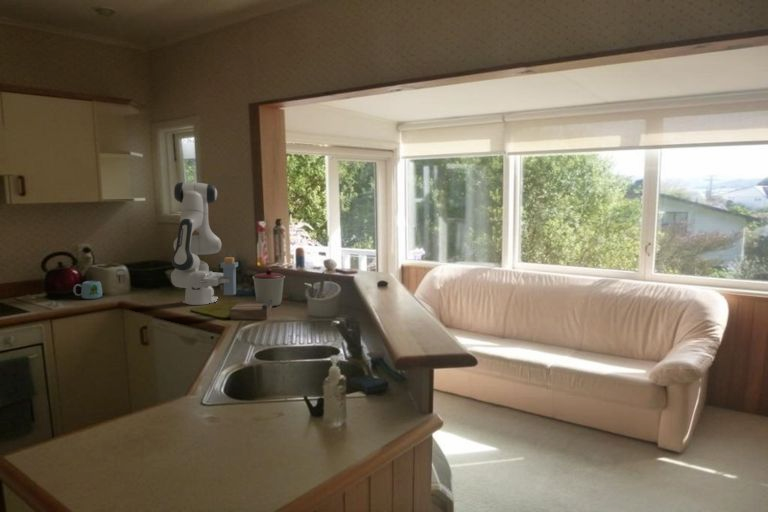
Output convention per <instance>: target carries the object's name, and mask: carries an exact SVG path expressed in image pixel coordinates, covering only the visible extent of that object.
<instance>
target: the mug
mask: <svg viewBox="0 0 768 512" xmlns="http://www.w3.org/2000/svg"><path fill="white" fill-rule="evenodd" d="M77 287H80V288H81V292H80V293H78V292H77V291H76V288H77ZM72 291H73V293H74V295H75V296H78V297H80V296H81V298H82V299H84V300H95V299H100V298H101V297H102V296H103V287H102V283H101V281H99V280H86V281H84V282H82V283H80V284H78V283H77V284H75V285H74V286H73V289H72Z"/></svg>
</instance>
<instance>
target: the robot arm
mask: <svg viewBox="0 0 768 512" xmlns="http://www.w3.org/2000/svg"><path fill="white" fill-rule="evenodd" d="M173 188H174V189H173V196H174V198H175V200H176V201H177V202H180V203H181V206H180V220H179V227H178V233H177V237H176V238H175V240H174V241H173V249H174V252H173V254H172V255H171V265H172V267H174V270H172V272H171V274H170V281H171V283H172V285H173V286H175V287H177V288H184V289H185V298H184V300H183V301H182V304H187V305H191V306H194V305H195V306H198V305H199V306H200V305H201V306H202V305H209V303H210V304H215V303H214V302H216V301H217V302H218V300H219V297H218V296H215V289H214V287H217V286H219V285H220V284H223V283H229V282H230V279H223V272H216V271H215V272H213V271H212V270H210V269H209V268H210V267H209V264H208V263H207V262H205V261H204V260H201V259H200V257H199V256H200V255H212V254H218V253H219V252H221V249H222V241H221V239H220V237H219V236H217V235H216V234H215V233H214V232H213V231H212V229H211V226H210V221H209V205H210V204H213V203H215V201H216V200H217V198H218V190H217V187H216V186H215V185H214V184H213V183H212V184H211V183H204V182H177V183H176V184H175V185H174V187H173ZM195 231H196V232H197V233H199V234H198V235H193V233H194V232H195ZM217 299H218V300H217ZM217 302H216V303H217Z"/></svg>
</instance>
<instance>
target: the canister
mask: <svg viewBox="0 0 768 512" xmlns="http://www.w3.org/2000/svg"><path fill="white" fill-rule="evenodd" d="M285 278H286V276H285V275H284V274H283V273H278V272H273V269H271V268H266V269H265V272H263V273H256V274H255V275H254V276H252V279H253V284H254V291H255V299H256V303H265V302H266V301H267V300H272V308H273V307H277V306H279V305H281V303H282V299H283V292H284V280H285Z"/></svg>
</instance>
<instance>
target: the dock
mask: <svg viewBox="0 0 768 512" xmlns="http://www.w3.org/2000/svg"><path fill="white" fill-rule="evenodd" d="M272 313H273V307H272V300H267V301H266V302H265V303H257V302H244V303H243V302H237V303H236V304H235V305H234V306H233V307H231V308H230V309H229V316H230V320H268V318H270V316H271V314H272Z"/></svg>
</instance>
